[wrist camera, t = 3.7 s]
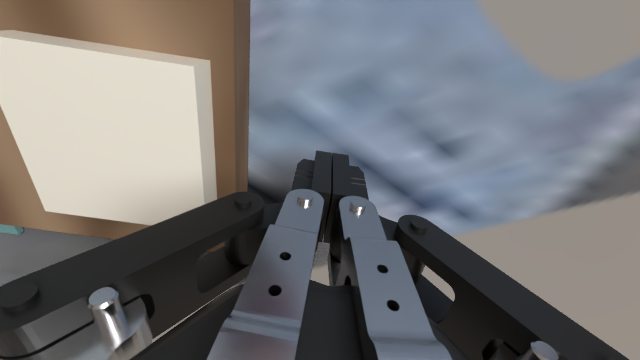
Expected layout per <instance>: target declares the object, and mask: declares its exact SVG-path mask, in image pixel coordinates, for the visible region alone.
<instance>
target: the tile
mask: <svg viewBox="0 0 640 360" xmlns="http://www.w3.org/2000/svg"><path fill="white" fill-rule="evenodd" d="M0 106H1V108H2V110H3V113H4V115H5V117H6V120H7V122H8V124H9V127H10V129H11V132H12V134H13V136H14V139H15V141H16V143H17V146H18V148H19V150H20V153H21V155H22V157H23V160H24V162H25V164H26V167H27V169H28V172H29V174H30V176H31V179H32V181H33V183H34V186H35V188H36V190H37V193H38V195H39V197H40V200H41V202H42V204H43V207H44V209H45V211H48V212H55V213H62V214H70V215H77V216H85V217H92V218H100V219H107V220H115V221H122V222H130V223H137V224H144V225H154V224H157V223H159V222H162V221H164V220H167V219H169V218H172V217H174V216H177V215H179V214H182V213H184V212H187V211H189V210H192V209H194V208H197V207H199V206H202V205H204V204H207V203H209V202H212V201H214V200H217V188H216V168H215V148H214V128H213V108H212V88H211V68H210V60H204V59H197V58H191V57H184V56H178V55H171V54H165V53H158V52H152V51H146V50H139V49H133V48H126V47H120V46H113V45H107V44H100V43H94V42H87V41H81V40H74V39H68V38H61V37H55V36H48V35H42V34H35V33H29V32H22V31H16V30H2V31H0Z"/></svg>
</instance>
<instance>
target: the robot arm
mask: <svg viewBox="0 0 640 360" xmlns="http://www.w3.org/2000/svg"><path fill="white" fill-rule="evenodd" d="M323 234H324V242H326V243H330V249H329V254H328V270H329V284H330V286H327V285H324V284H321V283H318V282H315V281H312V280H310V277H311V272H312V266H313V261H314V255H315V252H316V251H317V248H318V243H319V242H322V239H323ZM223 242H224V244H225V246H223V247H221V248H220V249H218V250H216V251H214V252H212V253H210V254H208V255H206V256H205V257H203V258H201V259H199V260H197V259H198V258H199V256H200V255H201V254H203V253H204V252H205V251H207V250H209V249H211V248H213V247H215V246H217V245H219V244H221V243H223ZM425 265H426V266H427V267H429V268H430V269H431V270H432V271H434V272H435V273H436V274H437V275H438V276H440V277H441V278H442V279H443V280H444V281H446V282H447V283H448V284H449V285H450V286H451V287H452V288H453V290H454V293H455V300H454V302H453V301H452V300H451V299H449V298H448V297H447V296H446V295H445V294H444V293H442V292H441V291H440V290H439V289H438V288H437V287H436V286H434V285H433V284H432V283H431V282H430V281H428V280H427V279H426V278H425V277H424V276H422V274H421V273H422V271H423V269H424V267H425ZM246 277H247V279H246V281H245V283H244V284H242V285H239V286H236V287H234V288H232V289H230V290H228V291H226V290H227V289H229V288H230V287H232V286H233V285H235V284H237V283H238V282H240V281H241V280H243V279H244V278H246ZM224 291H226V292H224ZM223 292H224V293H223ZM221 293H223V294H221ZM220 294H221V295H220ZM218 295H220V296H218ZM217 296H218V297H217ZM215 297H217V298H215ZM214 298H215V299H214ZM212 299H214V300H213V301H211V300H212ZM209 301H211V302H210V303H208V302H209ZM206 303H208V304H207V305H205V304H206ZM203 305H205V306H204V307H203V308H201V309H200V310H198V311H197V312H195V313H194V314H193V315H191V316H190V317H188V318H187V319H186V320H184V321H183V322H182V323H180V324H179V325H177V326H176V327H174V328H173V329H171V330H170V331H169V332H167V333H166V334H164V335H163V336H162V337H160V338H159V339H157V340H156V341H155V342H153V343H152V339H154V338H155V337H156V336H158V335H160V334H161V333H163V332H164V331H166V330H167V329H169V328H170V327H172V326H173V325H175V324H176V323H178V322H179V321H181V320H182V319H184V318H185V317H187V316H188V315H190V314H191V313H193V312H194V311H196V310H197V309H199V308H200V307H201V306H203ZM151 343H152V344H151ZM0 360H629V359H628V358H626V357H625V356H623V355H622V354H621V353H619V352H618V351H616V350H615V349H613V348H612V347H610V346H609V345H607V344H606V343H604V342H603V341H602V340H600V339H599V338H597V337H596V336H594V335H593V334H592V333H590V332H589V331H587V330H586V329H584V328H583V327H582V326H580V325H579V324H577V323H575V322H574V321H573V320H571V319H570V318H568V317H567V316H566V315H564V314H563V313H561V312H560V311H558V310H557V309H556V308H554V307H553V306H551V305H550V304H548V303H547V302H545V301H544V300H543V299H541V298H540V297H538V296H537V295H535V294H534V293H532V292H531V291H529V290H528V289H527V288H525V287H524V286H522V285H521V284H519V283H518V282H517V281H515V280H513V279H512V278H511V277H509V276H508V275H506V274H505V273H504V272H502V271H501V270H499V269H498V268H496V267H495V266H493V265H492V264H491V263H489V262H488V261H486V260H485V259H483V258H482V257H480V256H479V255H477V254H476V253H475V252H473V251H472V250H470V249H469V248H467V247H466V246H465V245H463V244H461V243H460V242H459V241H457V240H456V239H454V238H453V237H452V236H450V235H449V234H447V233H446V232H444V231H443V230H441V229H440V228H439V227H437V226H436V225H434V224H433V223H431V222H430V221H428V220H427V219H425V218H422V217H419V216H415V215H404V216H402V217H400V218H399V220H398V223H397V222H394V221H391V220H388V219H386V218H383V217H381V216H380V215H378V212H377V209H376V207H375V205H374V204H373V203H372V202H370V201H369V199H368V194H367V188H366V183H365V178H364V173H363V172H362V171H361V170H360V168H359V167H355V166H349V156H348V155H344V154H337V153H333V154H332V153H330V152H323V151H316V156H315V161H313V160H306V159H303V160H302V161H300V162H299V163H298V165H297V169H296V173H295V177H294V181H293V186H292V190H291V192H289V193H288V194H287V196H286V198H285V200H284V201H281V202H278V203H271V204H264V200H263V198H262V197H261V196H259V195H258V194H255V193H252V192H236V193H232V194H230V195H227V196H225V197H222V198H220V199H217V200H214V201H212V202H209V203H207V204H204V205H202V206H199V207H197V208H194V209H192V210H189V211H187V212H184V213H182V214H179V215H177V216H174V217H172V218H169V219H167V220H164V221H162V222H159V223H157V224H154V225H152V226H149V227H147V228H144V229H142V230H139V231H137V232H134V233H132V234H129V235H126V236H124V237H121V238H119V239H116V240H114V241H111V242H109V243H106V244H104V245H101V246H99V247H96V248H94V249H91V250H89V251H86V252H84V253H81V254H79V255H76V256H74V257H71V258H69V259H66V260H64V261H61V262H59V263H56V264H54V265H51V266H49V267H46V268H43V269H41V270H38V271H36V272H33V273H31V274H28V275H26V276H23V277H21V278H18V279H16V280H13V281H11V282H9V283H7V284H5V285H3V286H1V287H0Z"/></svg>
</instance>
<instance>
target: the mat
mask: <svg viewBox="0 0 640 360" xmlns="http://www.w3.org/2000/svg"><path fill="white" fill-rule="evenodd" d="M23 231H24V230H23V228H22V227H18V226H10V225H2V224H0V232H3V233H10V234H18V235H19V234H20V233H22V232H23Z"/></svg>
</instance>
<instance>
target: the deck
mask: <svg viewBox="0 0 640 360" xmlns="http://www.w3.org/2000/svg"><path fill="white" fill-rule="evenodd" d="M2 30H16V31H22V32H29V33H35V34H42V35H48V36H55V37H61V38H68V39H74V40H81V41H87V42H94V43H100V44H107V45H113V46H120V47H126V48H133V49H139V50H146V51H152V52H158V53H165V54H171V55H178V56H184V57H191V58H197V59H204V60H210V68H211V88H212V108H213V128H214V148H215V168H216V188H217V199H220V198H222V197H225V196H227V195H230V194H232V193H236V192H248V126H249V57H250V0H0V31H2ZM0 224H2V225H10V226H18V227H25V228H33V229H40V230H48V231H55V232H63V233H71V234H78V235H86V236H93V237H101V238H108V239H119V238H121V237H124V236H126V235H129V234H132V233H134V232H137V231H139V230H142V229H144V228H147V227H149V226H152V225H144V224H137V223H130V222H122V221H115V220H107V219H100V218H92V217H85V216H77V215H70V214H62V213H55V212H48V211H45V209H44V207H43V204H42V202H41V200H40V197H39V195H38V193H37V190H36V188H35V186H34V183H33V181H32V179H31V176H30V174H29V172H28V169H27V167H26V164H25V162H24V160H23V157H22V155H21V153H20V150H19V148H18V146H17V143H16V141H15V139H14V136H13V134H12V132H11V129H10V127H9V124H8V122H7V120H6V117H5V115H4V113H3V110H2V108H1V106H0ZM223 246H225V244H224V242H223V243H221V244H219V245H217V246H215V247H213V248H211V249H209V250H207V252H214V251H216V250H218V249H220V248H221V247H223Z"/></svg>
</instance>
